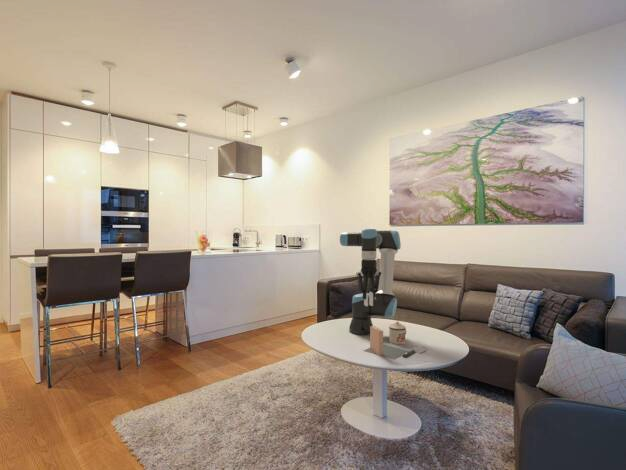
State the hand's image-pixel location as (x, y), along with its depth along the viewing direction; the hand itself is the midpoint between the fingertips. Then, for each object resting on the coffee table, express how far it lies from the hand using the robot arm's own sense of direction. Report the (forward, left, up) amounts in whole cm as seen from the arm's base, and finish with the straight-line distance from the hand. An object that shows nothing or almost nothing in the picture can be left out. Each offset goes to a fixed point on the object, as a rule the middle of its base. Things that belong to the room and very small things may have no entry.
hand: (368, 305), depth 176 cm
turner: (+17, +17, -24) cm, 34 cm away
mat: (+6, +8, -24) cm, 26 cm away
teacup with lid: (+3, +27, -25) cm, 37 cm away
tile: (+3, +3, -24) cm, 24 cm away
